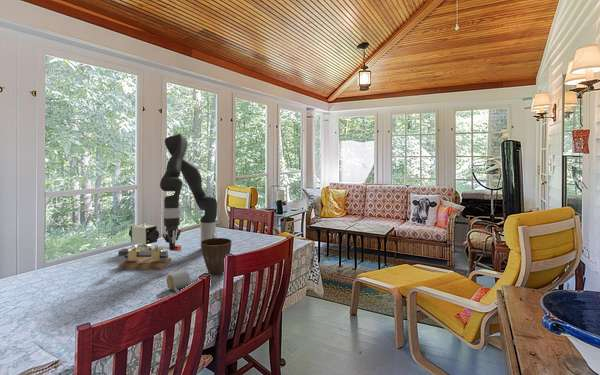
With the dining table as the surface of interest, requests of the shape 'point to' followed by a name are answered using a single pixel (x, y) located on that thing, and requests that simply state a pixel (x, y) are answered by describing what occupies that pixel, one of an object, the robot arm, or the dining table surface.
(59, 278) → the dining table surface
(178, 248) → the red lever
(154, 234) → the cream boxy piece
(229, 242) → the plant pot
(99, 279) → the dining table surface
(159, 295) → the dining table surface
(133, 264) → the base board
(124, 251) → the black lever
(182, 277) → the ceramic mug
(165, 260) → the pipe manifold
